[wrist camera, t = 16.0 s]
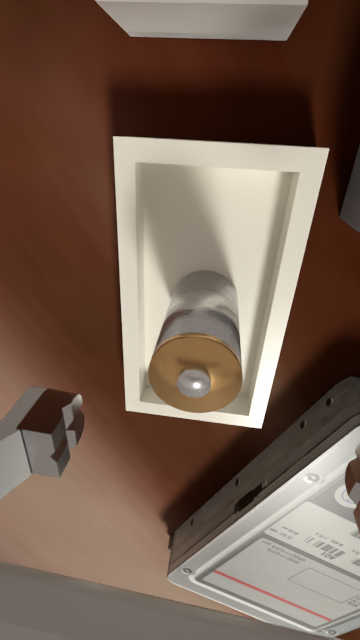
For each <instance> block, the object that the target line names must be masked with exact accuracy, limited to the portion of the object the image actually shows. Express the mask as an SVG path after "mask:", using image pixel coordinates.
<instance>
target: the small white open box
mask: <svg viewBox="0 0 360 640" xmlns="http://www.w3.org/2000/svg"><path fill="white" fill-rule="evenodd" d="M95 1H96V2H97V3H98V4H99V5H100V6H101V7H102V8H103V9H104V10H105V11H106V12H107V13H108V14H109V15H110V16H111V17H112V18H113V19H114V20H115V21H116V22H117V23H118V24H119V25H120V26H121V27H122V28H123V29H124V30H125V31H126V32H127V33H128V34H129V35H130V36H134V37H171V38H208V39H244V40H281V41H287V39H288V37H289V36H290V34H291V32H292V30H293V29H294V27H295V25H296V24H297V22H298V20H299V19H300V17H301V15H302V13H303V12H304V10H305V8H306V7H307V5H308V0H95Z"/></svg>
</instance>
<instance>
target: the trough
mask: <svg viewBox="0 0 360 640" xmlns="http://www.w3.org/2000/svg"><path fill="white" fill-rule="evenodd" d="M113 146H114V167H115V188H116V209H117V230H118V251H119V272H120V294H121V315H122V336H123V357H124V378H125V399H126V410H128V411H135V412H142V413H150V414H157V415H165V416H172V417H179V418H187V419H194V420H202V421H209V422H216V423H224V424H231V425H239V426H246V427H253V428H262V424H263V420H264V416H265V412H266V408H267V403H268V399H269V395H270V391H271V387H272V383H273V379H274V375H275V371H276V366H277V362H278V358H279V354H280V350H281V346H282V342H283V338H284V333H285V329H286V325H287V321H288V317H289V313H290V309H291V305H292V301H293V296H294V292H295V288H296V284H297V280H298V276H299V272H300V268H301V264H302V259H303V255H304V251H305V247H306V243H307V239H308V235H309V231H310V226H311V222H312V218H313V214H314V210H315V206H316V202H317V198H318V194H319V189H320V185H321V181H322V177H323V173H324V169H325V165H326V161H327V157H328V152H329V148H322V147H311V146H293V145H275V144H257V143H239V142H222V141H204V140H186V139H168V138H150V137H132V136H113ZM203 270H205V271H213V272H216V273H219V274H221V275H223V276H224V277H226V278H227V279H228V280H229V281H230V282H231V283H232V284H233V286H234V288H235V290H236V292H237V297H238V312H239V328H240V345H241V361H242V378H243V381H242V387H241V390H240V392H239V394H238V395H237V397H236V398H235V399H234V400H233V401H232V402H231V403H230V404H228V405H227V406H225V407H223V408H221V409H219V410H216V411H212V412H207V413H191V412H186V411H182V410H179V409H176V408H174V407H172V406H170V405H168V404H167V403H165V402H164V401H163V400H161V399H160V398H159V397H158V396H157V395H156V393H155V392H154V391H153V389H152V387H151V385H150V382H149V378H148V368H149V364H150V361H151V358H152V355H153V352H154V349H155V346H156V343H157V340H158V337H159V334H160V331H161V328H162V325H163V322H164V319H165V316H166V313H167V310H168V307H169V304H170V301H171V298H172V295H173V292H174V289H175V287H176V285H177V284H178V282H179V281H180V280H181V279H182V278H183V277H185V276H186V275H188V274H190V273H193V272H196V271H203Z"/></svg>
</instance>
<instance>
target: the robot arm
mask: <svg viewBox="0 0 360 640" xmlns="http://www.w3.org/2000/svg"><path fill="white" fill-rule="evenodd" d="M82 404H83V403H82V397H81V395H79V394H74V393H69V392H64V391H59V390H54V389H49V388H48V389H47V388H42V387H37V386H32V387H30V388H28V389H27V390H26V391H25V393H24V394H23V395H22V396H21V397H20V399H19V400H18V401H17V402H16V403H15V405H14V406H13V407H12V408H11V409H10V411H9V412H8V413H7V414H6V415H5V417H4V418H3V419H2V420H1V421H0V499H1V498H2V497H4V496H5V495H6V494H7V493H9V492H10V491H11V490H13V489H14V488H15V487H16V486H18V485H19V484H20V483H22V482H23V481H24V480H25V479H27V478H28V477H29V476H31V473H34V474H40V475H46V476H51V477H57V478H60V476H61V474H62V472H63V470H64V469H65V467H66V465H67V463H68V461H69V459H70V454H69V450H70V449H72V448H73V447H75V446H76V445H77V444H78V442H79V440H80V438H81V435H82V431H83V428H84V414H83V413H82V412H81V411H80V407H81V406H82ZM355 454H356V456H357V458H355V459H353V460H351V461H349V463H348V466H347V468H346V471H345V486H346V490H347V494H348V497H349V498H350V499H351V500H352V501H353V502H354V503H355V504H356V507H355V509H354V511H353V514H354V517H355V521H356V524H357V527H358V531H359V534H360V444H359V445H358V446H357V448H356V450H355ZM0 640H341V639H337V638H333V637H329V636H324V635H320V634H316V633H311V632H307V631H303V630H298V629H294V628H290V627H285V626H281V625H277V624H272V623H268V622H264V621H259V620H255V619H251V618H246V617H242V616H238V615H233V614H229V613H225V612H221V611H216V610H212V609H208V608H203V607H199V606H195V605H190V604H186V603H182V602H177V601H173V600H169V599H164V598H160V597H156V596H151V595H147V594H143V593H138V592H134V591H130V590H125V589H121V588H117V587H112V586H108V585H104V584H100V583H95V582H91V581H87V580H82V579H78V578H74V577H69V576H65V575H61V574H56V573H52V572H48V571H43V570H39V569H35V568H30V567H26V566H22V565H17V564H13V563H9V562H4V561H0Z"/></svg>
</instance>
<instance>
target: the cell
mask: <svg viewBox="0 0 360 640" xmlns="http://www.w3.org/2000/svg"><path fill="white" fill-rule="evenodd" d="M148 378H149V382H150V385H151V387H152V389H153V391H154V392H155V393H156V395H157V396H158V397H159V398H160V399H161V400H163V401H164V402H165V403H167V404H168V405H170V406H172V407H174V408H176V409H179V410H182V411H186V412H191V413H207V412H212V411H216V410H219V409H221V408H223V407H225V406H227V405H228V404H230V403H231V402H232V401H233V400H234V399H235V398H236V397H237V395H238V394H239V392H240V390H241V387H242V381H243V378H242V361H241V345H240V328H239V312H238V297H237V292H236V290H235V288H234V286H233V284H232V283H231V282H230V281H229V280H228V279H227V278H226V277H224V276H223V275H221V274H219V273H216V272H213V271H205V270H203V271H196V272H193V273H190V274H188V275H186V276H185V277H183V278H182V279H181V280H180V281H179V282H178V284H177V285H176V287H175V289H174V292H173V295H172V298H171V301H170V304H169V307H168V310H167V313H166V316H165V319H164V322H163V325H162V328H161V331H160V334H159V337H158V340H157V343H156V346H155V349H154V352H153V355H152V358H151V361H150V364H149V368H148Z"/></svg>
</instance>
